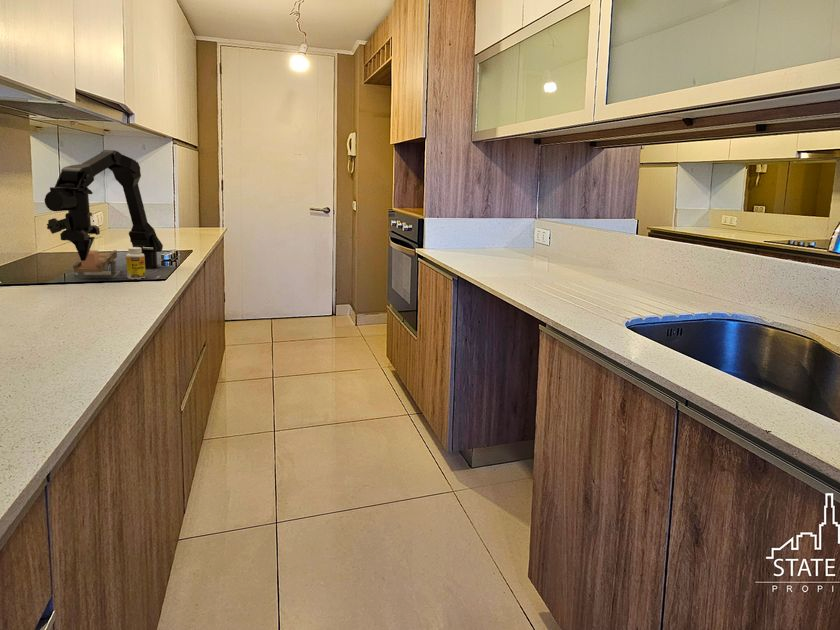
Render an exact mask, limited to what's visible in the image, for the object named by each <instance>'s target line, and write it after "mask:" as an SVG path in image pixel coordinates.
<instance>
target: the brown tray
mask: <svg viewBox="0 0 840 630" xmlns="http://www.w3.org/2000/svg"><path fill="white" fill-rule="evenodd" d="M117 251H118V250H113V251H111V252H104V253H103V252H98V254H99V263H100V264H99V265H98V266H97V267H82V265H81V259H80V258H79V261H78V260H77V261H78V262H77V261H76V263H75V262H74V264H73V265H72V267H73V268H72V270H73V273H78V272H103V271H106V269H107V268H108V267H109V266H110V261H115V260H116V258H117V257H118V252H117Z"/></svg>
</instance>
